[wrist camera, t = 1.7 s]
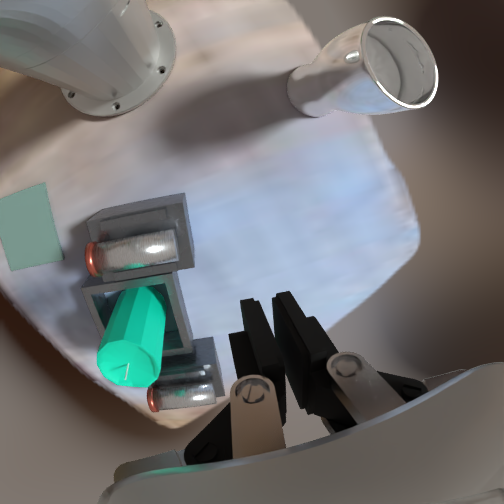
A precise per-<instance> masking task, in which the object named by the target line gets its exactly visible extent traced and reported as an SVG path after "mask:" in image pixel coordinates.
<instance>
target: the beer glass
mask: <svg viewBox="0 0 504 504" xmlns="http://www.w3.org/2000/svg"><path fill="white" fill-rule="evenodd" d="M437 86H438V71H437V66H436V62H435V59H434V57H433V54H432V52H431V50H430V49H429V46H428V45H427V43H426V42H425V40H424V39H423V38H422V37H421V35H420V34H419V33H418V32H417V31H416V30H414V28H412V27H411V26H409V25H408V24H407V23H405V22H403V21H401V20H399V19H397V18H394V17H389V16H381V17H376V18H374V19H372V20H370V21H368V22H365V23H362V24H360V25H358V26H355V27H353V28H351V29H349V30H347V31H345V32H343V33H341V34H340V35H339V36H337V37H336V38H334V39H333V40H331V41H330V42H329V43H328V44H327V45H326V46H325V47H324V48H323V49H322V50H321V51H320V53H319V54H318V55H317V57H316V58H315V59H314V61H313V62H312V63H311V64H306V65H303V66H300V67H298V68H296V69H295V70H294V71H293V72H292V73H291V74H290V76H289V78H288V81H287V94H288V97H289V99H290V101H291V103H292V104H293V106H294V107H295V108H296V109H297V110H298V111H300V112H301V113H303V114H305V115H308V116H311V117H322V116H326V115H328V114H330V113H332V112H333V111H335V110H336V111H342V112H347V113H353V114H362V115H379V114H387V113H394V112H399V111H405V110H411V109H420V108H423V107H425V106H427V105H428V104H429V103H430V102H431V101H432V100H433V98H434V96H435V94H436V91H437Z"/></svg>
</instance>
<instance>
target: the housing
mask: <svg viewBox="0 0 504 504" xmlns="http://www.w3.org/2000/svg"><path fill="white" fill-rule="evenodd" d="M87 227H88V230H89V234H90V238H91V242H94V241H97V242H98V243H101V242H106V241H111V240H116V239H122V238H127V237H132V236H137V235H143V234H148V233H153V232H159V231H164V230H170V229H174V230H175V233H176V237H177V242H178V249H179V261H175V262H169V263H163V264H157V265H151V266H145V267H139V268H134V269H128V270H122V271H116V272H110V273H104V274H103V276H101V277H92V276H91V275H90V276H89V277H88V279H87V280H86V281H85V283H84V284H83V286H82V287H81V290H82V292H83V295H84V298H85V300H86V303H87V305H88V308H89V310H90V313H91V315H92V318H93V320H94V322H95V325H96V327H97V329H98V331H99V334H100V336H101V338H103V336H104V333H105V330H106V328H107V325H108V322H109V320H110V317H111V315H112V313H111V310H110V308H109V305H108V302H107V300H106V297H105V294H104V293H105V292H112V291H118V290H125V289H131V288H138V287H144V286H150V285H156V284H163V283H165V284H166V288H167V292H168V295H169V299H170V303H171V306H172V310H173V313H174V317H175V320H176V324H177V327H178V330H179V331H172V332H165V333H164V338H163V348H162V359H161V370H160V373H159V376H158V379H157V380H155V381H154V382H153V383H152V384H151V385H150V386H149V387H148V388H155V389H164V388H174V387H182V386H190V385H197V384H204V383H211V382H212V383H213V386H214V390H215V395H216V397H221V396H225V391H224V386H223V380H222V373H221V368H220V364H219V360H218V356H217V352H216V348H215V343H214V339H213V337H209V338H203V339H196V340H193V333H192V330H191V326H190V322H189V319H188V315H187V311H186V307H185V303H184V299H183V295H182V291H181V287H180V283H179V279H178V274H177V271H178V270H182V269H188V268H193V267H195V262H194V244H193V238H192V232H191V227H190V221H189V215H188V209H187V203H186V197H185V193H180V194H175V195H169V196H164V197H158V198H153V199H148V200H143V201H138V202H133V203H128V204H124V205H119V206H114V207H110V208H105V209H102V210H101V211H99V212H98V213H97V214H96V215H94V216H93V217H92V218H90V219H89V220H88V221H87Z"/></svg>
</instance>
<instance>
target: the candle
mask: <svg viewBox="0 0 504 504" xmlns="http://www.w3.org/2000/svg"><path fill="white" fill-rule="evenodd" d="M166 311H167V306H166V303H165V300H164V297H163V295H161V294H160V293H159V292H158V291H157V290H156V289H155V288H154V287H151V286H144V287H138V288H131V289H125V290H124V291H123V292H122V293H121V294H120V295H119V298H118V300H117V303H116V305H115V307H114V310H113V312H112V315H111V317H110V320H109V322H108V325H107V328H106V330H105V333H104V336H103V338H102V341H101V344H100V346H99V349H98V352H97V366H98V367H99V369H100V371H101V373H102V374H103V376H104V377H105V378H107V379H108V380H110V381H111V382H113V383H115V384H116V385H122V386H132V387H149V386H150V385H151V384H152V383H153V382H154V381H155V380H157V379H158V376H159V373H160V370H161V359H162V348H163V338H164V329H165V320H166Z"/></svg>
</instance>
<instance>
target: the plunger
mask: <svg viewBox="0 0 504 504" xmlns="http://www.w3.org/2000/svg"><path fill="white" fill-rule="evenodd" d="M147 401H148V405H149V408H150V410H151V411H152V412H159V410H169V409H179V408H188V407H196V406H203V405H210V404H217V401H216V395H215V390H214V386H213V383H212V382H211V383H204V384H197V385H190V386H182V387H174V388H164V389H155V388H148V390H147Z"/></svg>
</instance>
